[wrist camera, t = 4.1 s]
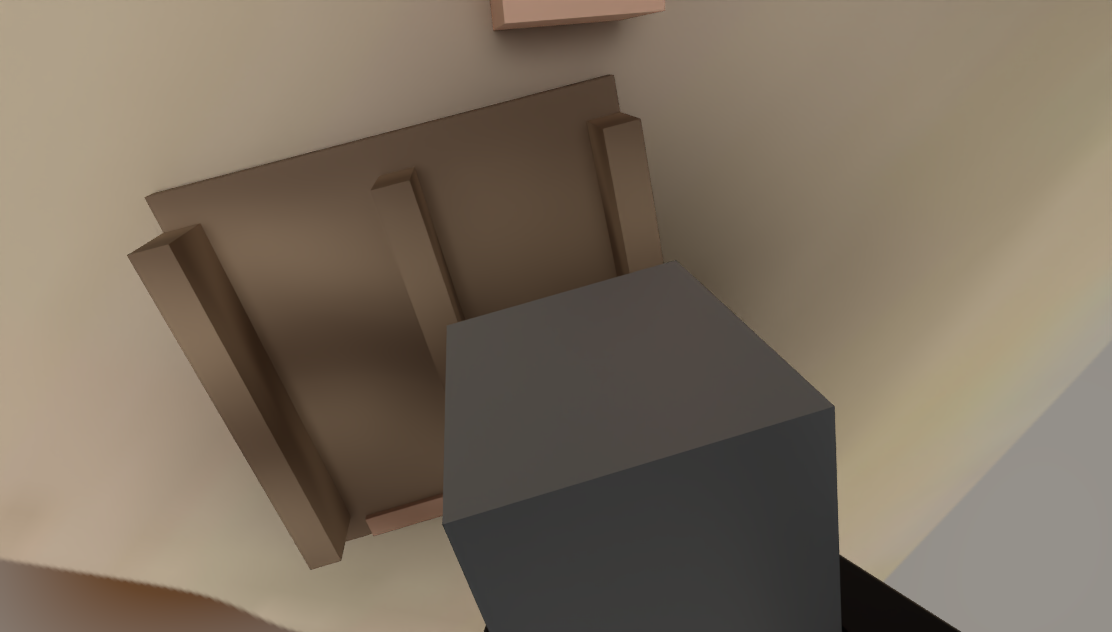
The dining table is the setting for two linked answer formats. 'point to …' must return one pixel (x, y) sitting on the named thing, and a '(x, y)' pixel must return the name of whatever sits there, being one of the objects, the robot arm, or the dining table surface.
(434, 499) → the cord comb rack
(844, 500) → the dining table surface
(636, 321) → the tall slate pillar
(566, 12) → the tall terracotta pillar
